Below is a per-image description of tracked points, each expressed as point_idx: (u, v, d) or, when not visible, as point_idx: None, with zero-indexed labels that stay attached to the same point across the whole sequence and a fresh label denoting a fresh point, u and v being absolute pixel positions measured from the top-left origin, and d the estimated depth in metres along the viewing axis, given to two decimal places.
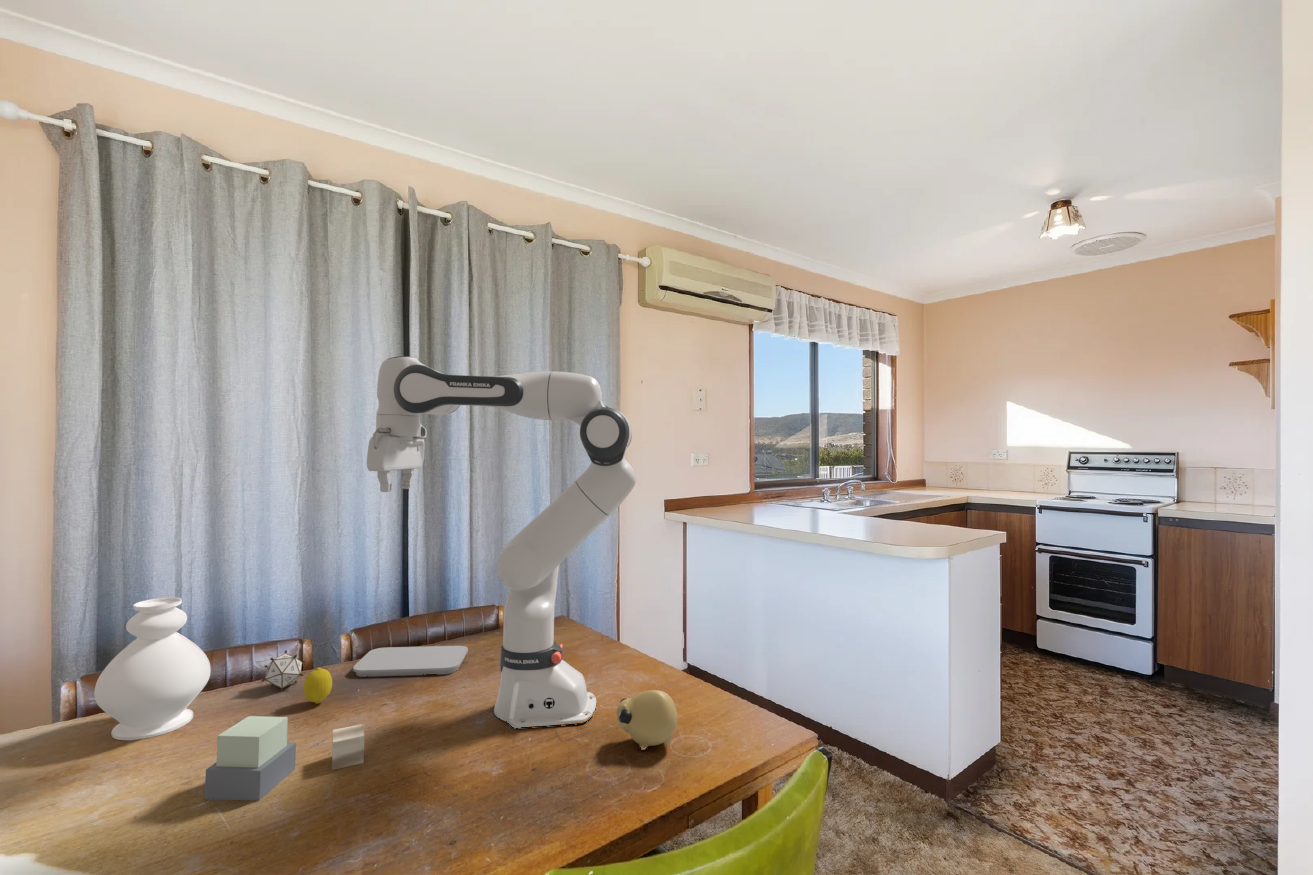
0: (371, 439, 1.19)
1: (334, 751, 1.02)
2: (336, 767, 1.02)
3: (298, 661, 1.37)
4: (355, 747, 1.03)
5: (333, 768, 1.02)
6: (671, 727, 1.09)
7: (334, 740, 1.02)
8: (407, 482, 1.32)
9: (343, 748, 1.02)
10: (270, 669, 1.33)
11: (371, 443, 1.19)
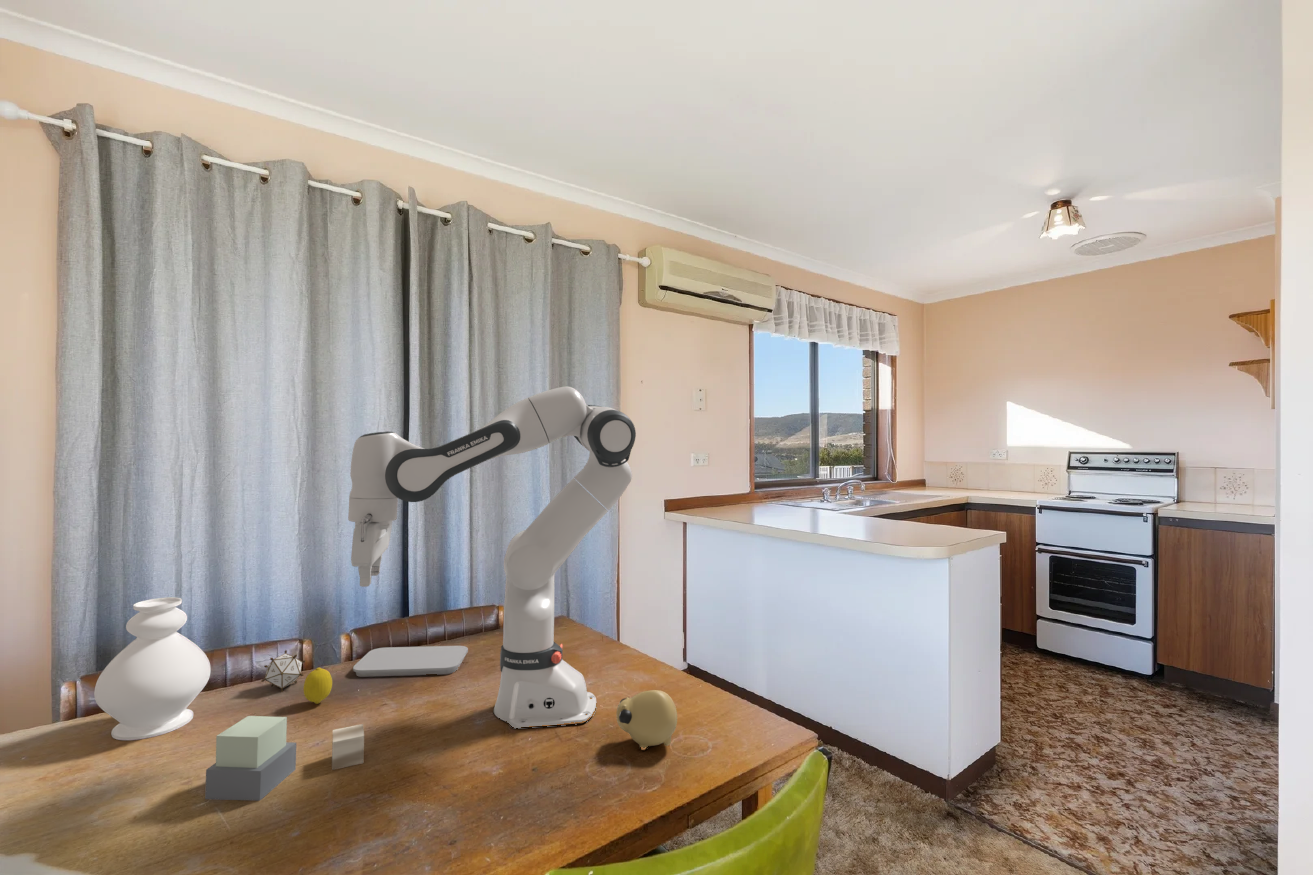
0: (356, 530, 1.06)
1: (334, 751, 1.02)
2: (336, 767, 1.02)
3: (298, 661, 1.37)
4: (355, 747, 1.03)
5: (333, 768, 1.02)
6: (671, 727, 1.09)
7: (334, 740, 1.02)
8: (377, 568, 1.19)
9: (343, 748, 1.02)
10: (270, 669, 1.33)
11: (357, 535, 1.06)
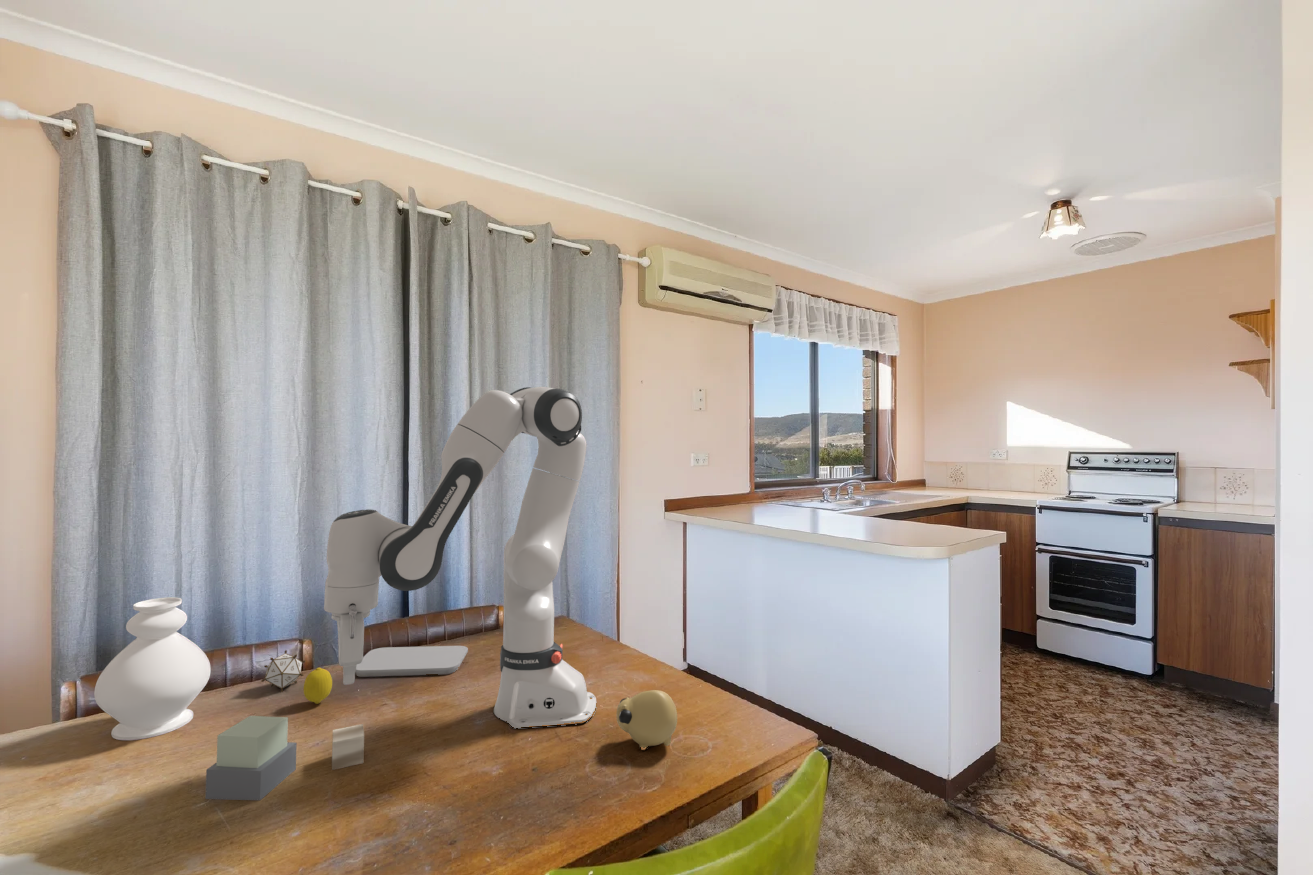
0: (344, 626, 0.97)
1: (334, 751, 1.02)
2: (336, 767, 1.02)
3: (298, 661, 1.37)
4: (355, 747, 1.03)
5: (333, 768, 1.02)
6: (671, 727, 1.09)
7: (334, 740, 1.02)
8: None
9: (343, 748, 1.02)
10: (270, 669, 1.33)
11: (345, 632, 0.97)
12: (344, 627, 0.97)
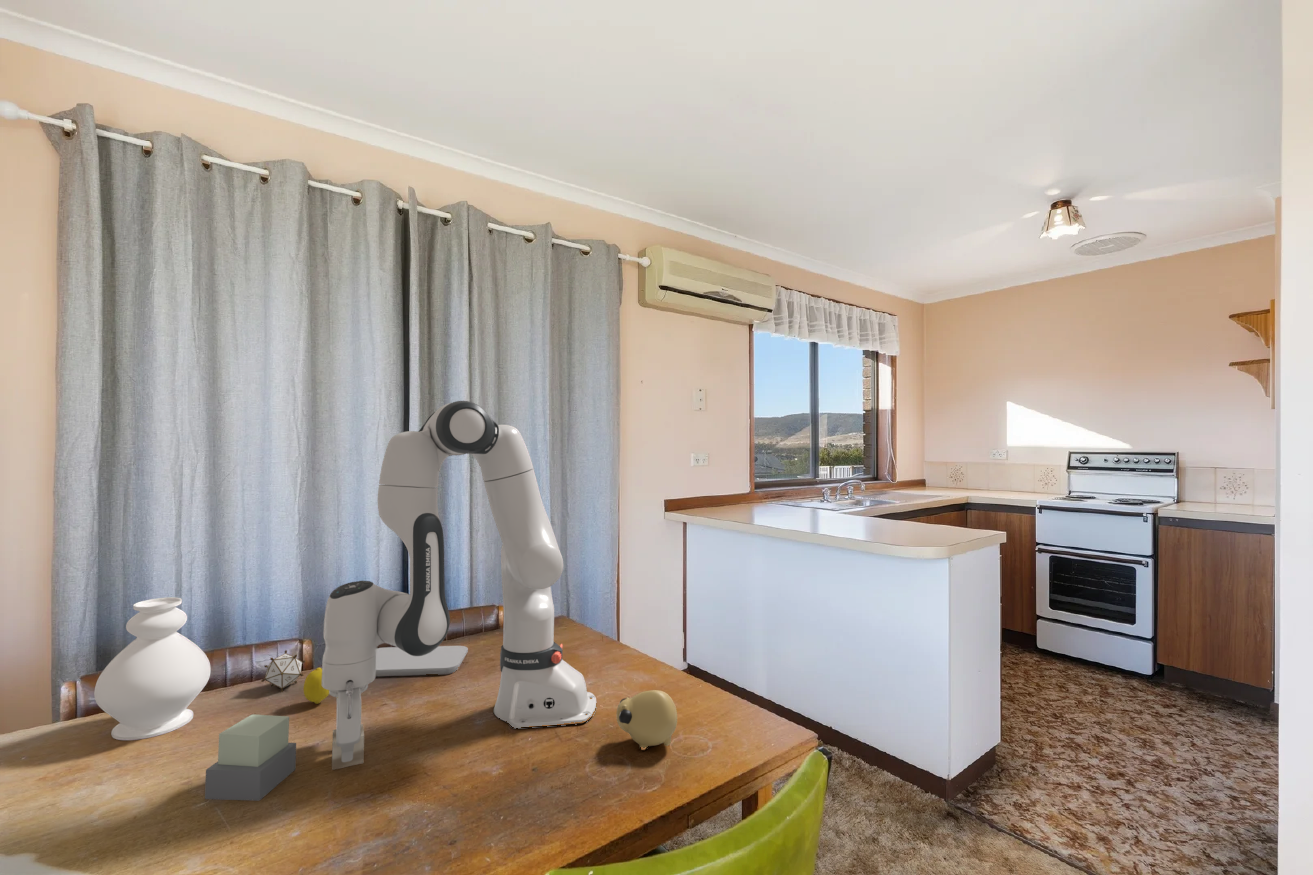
0: (341, 707, 0.97)
1: (334, 751, 1.02)
2: (336, 767, 1.02)
3: (298, 661, 1.37)
4: (355, 747, 1.03)
5: (333, 768, 1.02)
6: (671, 727, 1.09)
7: (334, 740, 1.02)
8: None
9: None
10: (270, 669, 1.33)
11: (342, 712, 0.97)
12: (341, 707, 0.97)
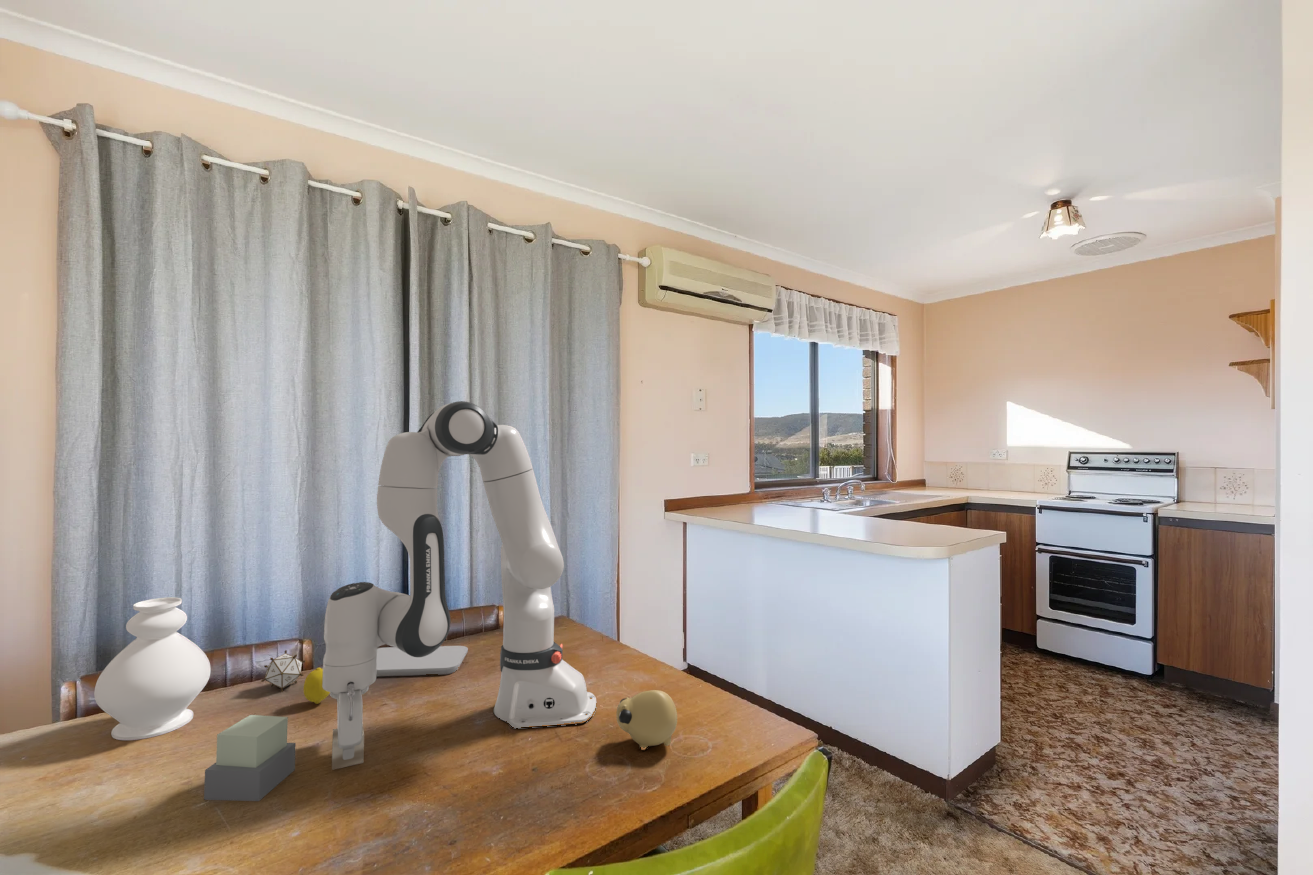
0: (342, 708, 0.97)
1: (334, 750, 1.02)
2: (336, 766, 1.02)
3: (298, 661, 1.37)
4: (355, 747, 1.03)
5: (333, 767, 1.02)
6: (671, 727, 1.09)
7: (334, 739, 1.02)
8: None
9: None
10: (270, 669, 1.33)
11: (344, 714, 0.97)
12: (342, 709, 0.97)
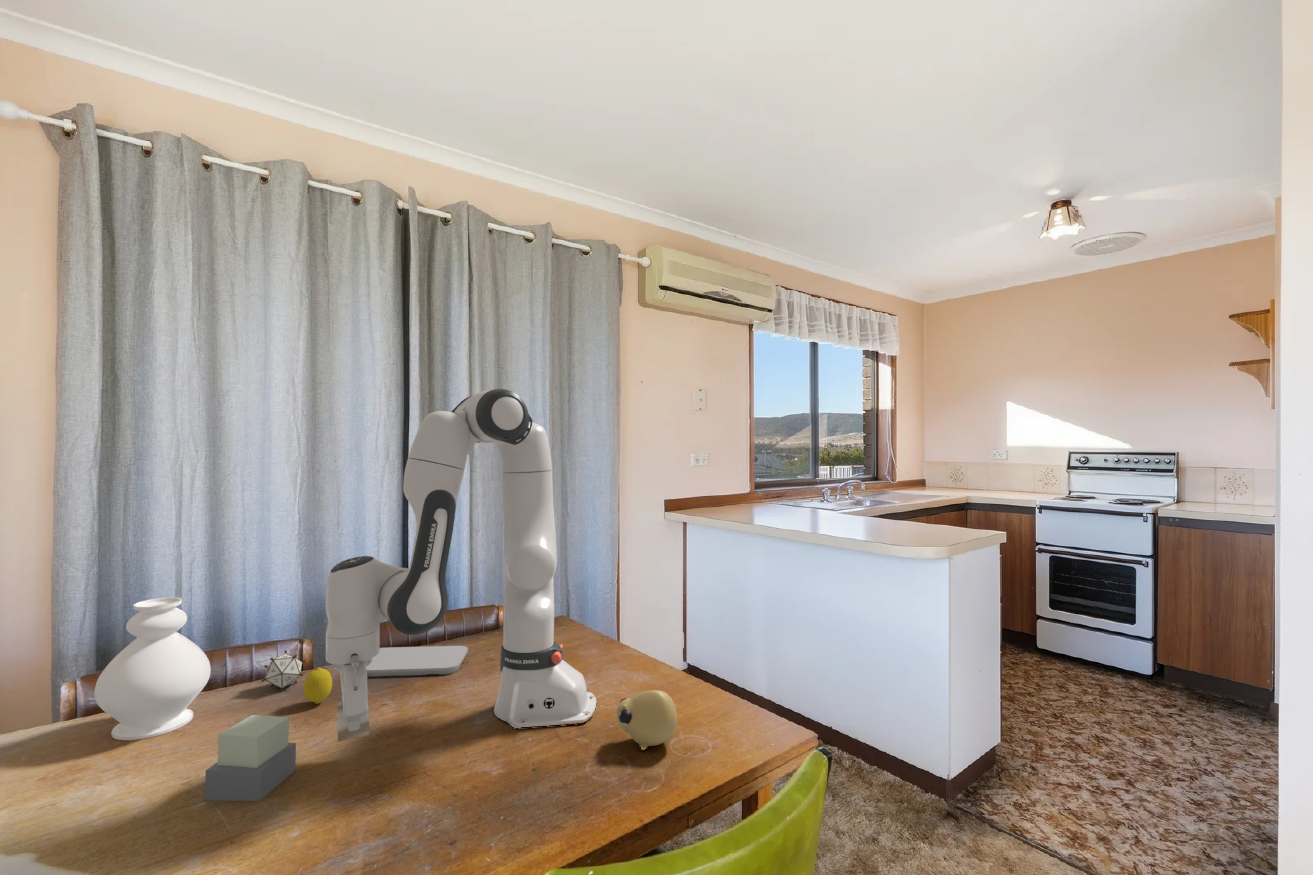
0: (347, 679, 0.97)
1: (339, 723, 1.02)
2: (342, 738, 1.02)
3: (298, 661, 1.37)
4: (360, 719, 1.04)
5: (339, 739, 1.02)
6: (671, 727, 1.09)
7: (339, 712, 1.02)
8: None
9: None
10: (270, 669, 1.33)
11: (349, 684, 0.97)
12: (347, 680, 0.97)
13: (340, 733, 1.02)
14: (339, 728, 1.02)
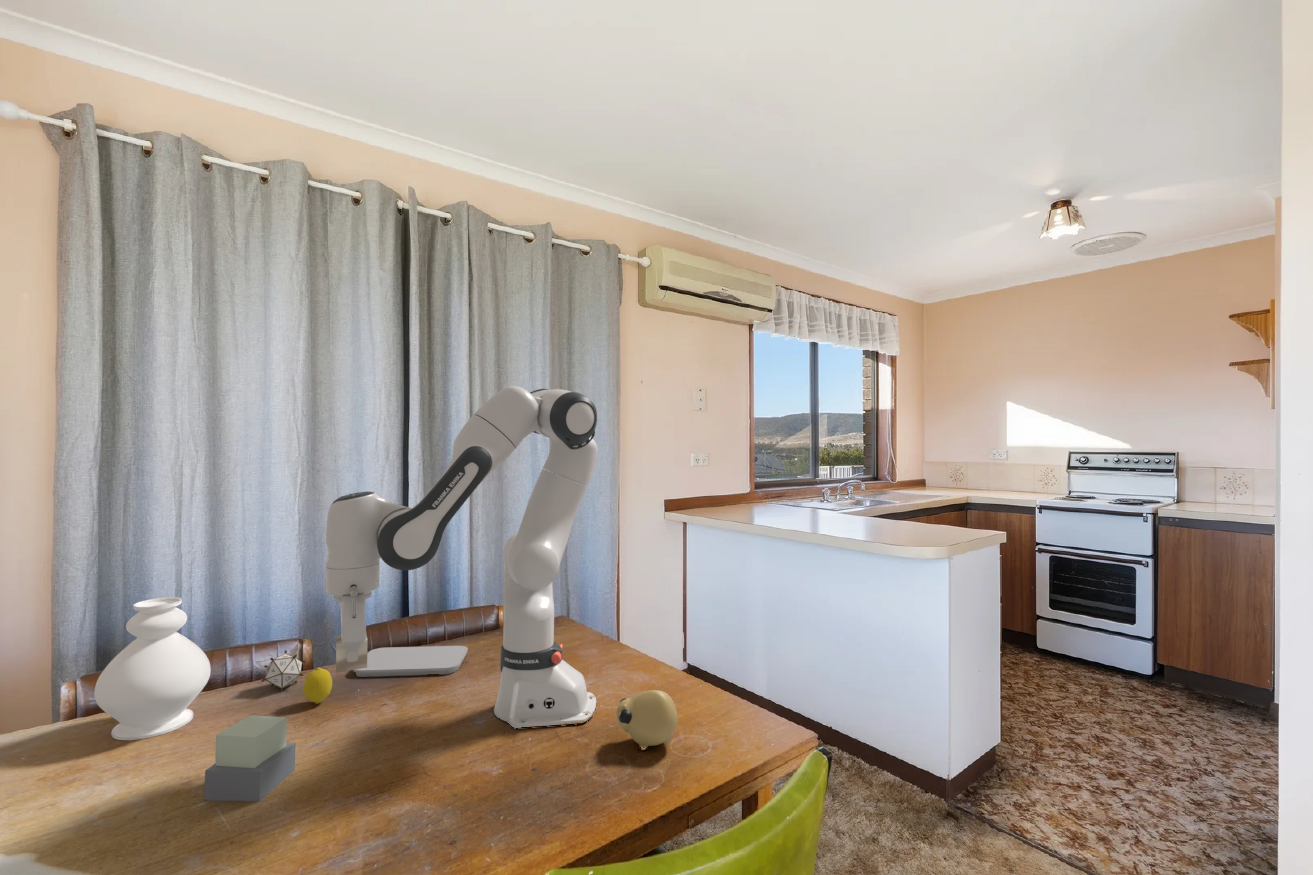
0: (346, 606, 0.97)
1: (338, 653, 1.02)
2: (340, 669, 1.02)
3: (298, 661, 1.37)
4: (358, 651, 1.04)
5: (337, 670, 1.02)
6: (671, 727, 1.09)
7: (337, 643, 1.03)
8: None
9: (346, 651, 1.03)
10: (270, 669, 1.33)
11: (347, 612, 0.97)
12: (346, 607, 0.97)
13: (338, 664, 1.02)
14: (337, 659, 1.02)
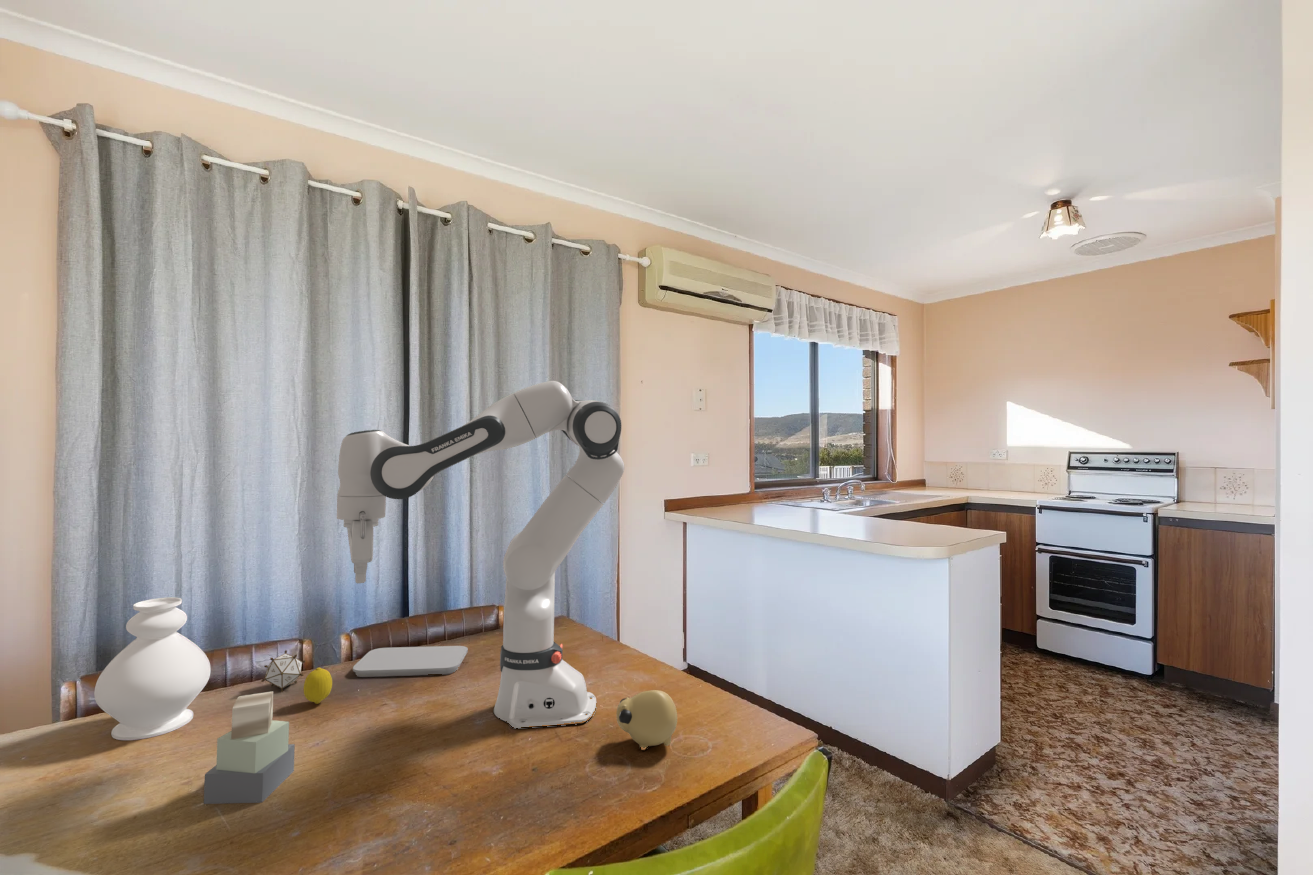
0: (355, 528, 1.07)
1: (234, 718, 0.93)
2: (236, 736, 0.93)
3: (298, 661, 1.37)
4: (258, 715, 0.95)
5: (233, 737, 0.93)
6: (671, 727, 1.09)
7: (235, 706, 0.94)
8: None
9: (244, 715, 0.94)
10: (270, 669, 1.33)
11: (357, 532, 1.07)
12: (355, 528, 1.07)
13: (234, 730, 0.93)
14: (233, 724, 0.93)
